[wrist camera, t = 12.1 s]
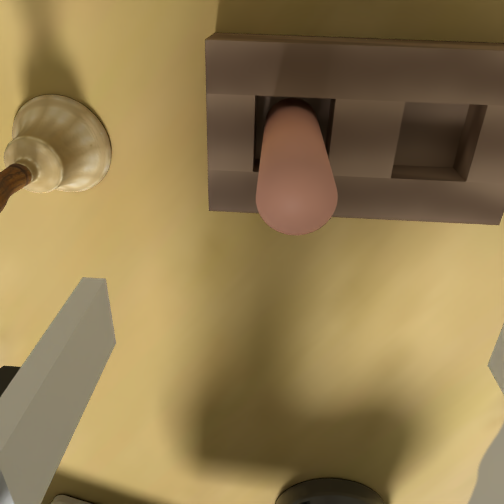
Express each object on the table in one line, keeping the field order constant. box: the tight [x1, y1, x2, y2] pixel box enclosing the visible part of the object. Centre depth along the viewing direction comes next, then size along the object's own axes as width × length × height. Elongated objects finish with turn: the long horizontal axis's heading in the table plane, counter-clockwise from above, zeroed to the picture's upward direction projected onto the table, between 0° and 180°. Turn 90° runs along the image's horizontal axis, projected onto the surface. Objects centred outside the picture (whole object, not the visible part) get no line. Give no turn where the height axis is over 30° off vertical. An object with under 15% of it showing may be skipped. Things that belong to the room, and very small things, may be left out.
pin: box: [256, 98, 338, 235], centre depth 28 cm, size 4×4×14 cm
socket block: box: [205, 33, 504, 225], centre depth 34 cm, size 12×22×5 cm, turn 89°
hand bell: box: [0, 95, 111, 213], centre depth 32 cm, size 8×8×16 cm
